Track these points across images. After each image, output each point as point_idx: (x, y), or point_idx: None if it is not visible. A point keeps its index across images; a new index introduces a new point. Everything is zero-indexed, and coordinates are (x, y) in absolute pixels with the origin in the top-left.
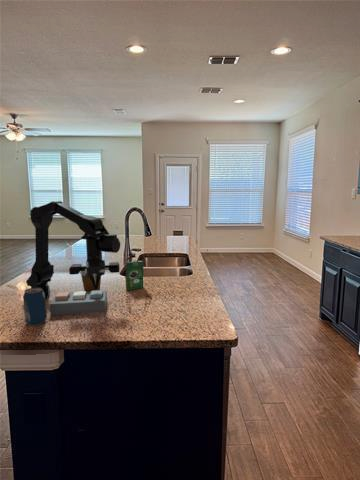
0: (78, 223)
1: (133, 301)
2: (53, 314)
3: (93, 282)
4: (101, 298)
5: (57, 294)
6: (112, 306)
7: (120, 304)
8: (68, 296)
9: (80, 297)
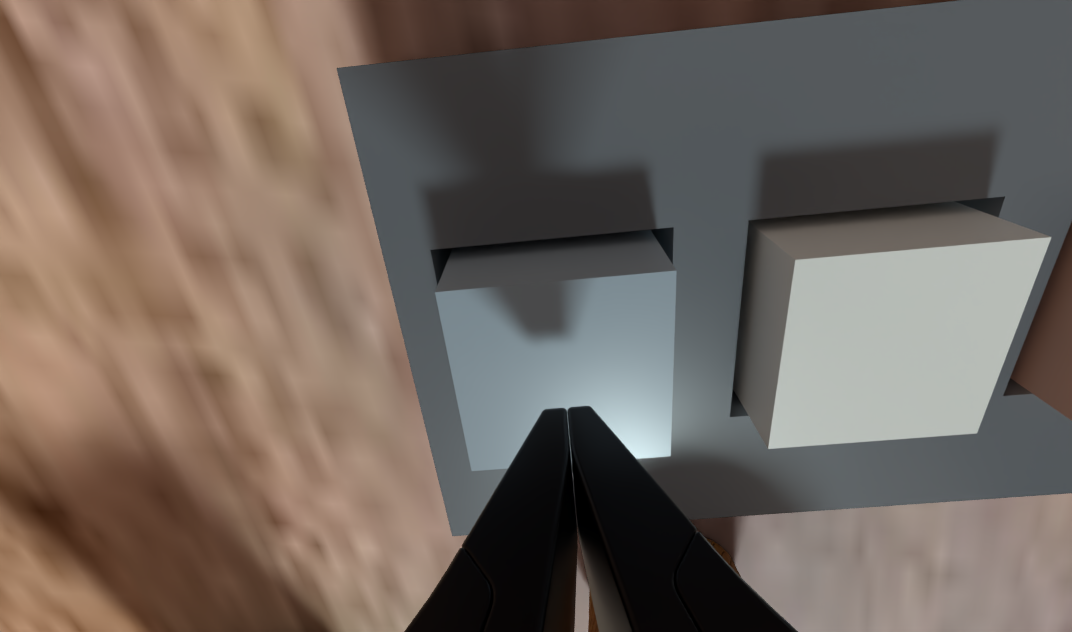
0: None
1: (144, 394)
2: None
3: (647, 522)
4: (441, 215)
5: None
6: (352, 262)
7: (269, 318)
8: (1070, 314)
9: (857, 233)
